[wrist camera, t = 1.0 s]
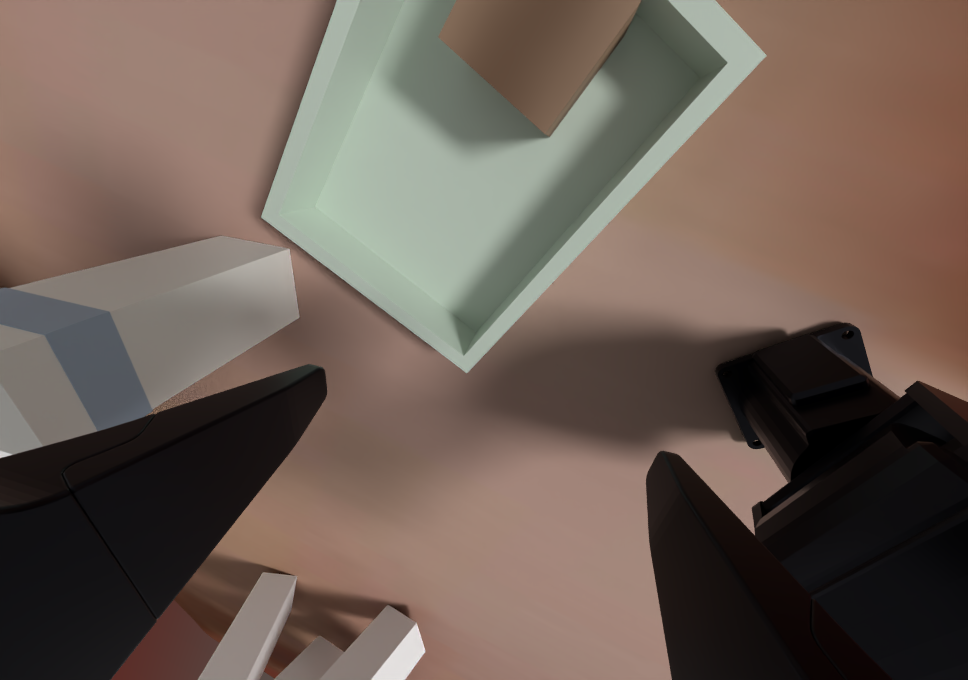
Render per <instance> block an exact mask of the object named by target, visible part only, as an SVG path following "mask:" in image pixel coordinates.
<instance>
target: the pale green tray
mask: <svg viewBox="0 0 968 680" xmlns="http://www.w3.org/2000/svg"><path fill="white" fill-rule="evenodd" d="M455 2H456V0H337V2H336V5H335V8H334V10H333V13H332V16H331V19H330V22H329V25H328V28H327V30H326V33H325V36H324V39H323V42H322V45H321V47H320V50H319V53H318V56H317V59H316V62H315V65H314V67H313V70H312V73H311V76H310V79H309V82H308V85H307V87H306V90H305V93H304V96H303V99H302V102H301V104H300V107H299V110H298V113H297V116H296V119H295V122H294V124H293V127H292V130H291V133H290V136H289V139H288V142H287V144H286V147H285V150H284V153H283V156H282V159H281V161H280V164H279V167H278V170H277V173H276V176H275V179H274V181H273V184H272V187H271V190H270V193H269V196H268V199H267V201H266V204H265V207H264V210H263V213H262V216H261V218H263V219H264V220H265V221H267V222H268V223H269V224H271V225H272V226H273V227H274V228H276V229H277V230H278V231H280V232H281V233H282V234H284V235H285V236H286V237H288V238H289V239H290V240H292V241H293V242H294V243H296V244H297V245H298V246H300V247H301V248H302V249H304V250H305V251H306V252H308V253H309V254H310V255H311V256H313V257H314V258H315V259H317V260H318V261H319V262H321V263H322V264H323V265H325V266H326V267H327V268H329V269H330V270H331V271H333V272H334V273H335V274H337V275H338V276H339V277H341V278H342V279H343V280H344V281H346V282H347V283H348V284H350V285H351V286H352V287H354V288H355V289H356V290H358V291H359V292H360V293H362V294H363V295H364V296H366V297H367V298H368V299H370V300H371V301H372V302H374V303H375V304H376V305H377V306H379V307H380V308H381V309H383V310H384V311H385V312H387V313H388V314H389V315H391V316H392V317H393V318H395V319H396V320H397V321H399V322H400V323H401V324H403V325H404V326H405V327H407V328H408V329H409V330H410V331H412V332H413V333H414V334H416V335H417V336H418V337H420V338H421V339H422V340H424V341H425V342H426V343H428V344H429V345H430V346H432V347H433V348H434V349H436V350H437V351H438V352H440V353H441V354H442V355H443V356H445V357H446V358H447V359H449V360H450V361H451V362H453V363H454V364H455V365H457V366H458V367H459V368H461V369H462V370H463V371H465V372H466V373H468V372H469V371H470V370H471V369H472V367H473V366H474V365H475V364H476V363H477V362H478V361H479V360H480V359H481V358H482V357H483V356H484V355H485V354H486V353H487V352H488V350H489V349H490V348H491V347H492V346H493V345H494V344H495V343H496V342H497V341H498V340H499V339H500V338H501V337H502V336H503V335H504V334H505V332H506V331H507V330H508V329H509V328H510V327H511V326H512V325H513V324H514V323H515V322H516V321H517V320H518V319H519V318H520V317H521V315H522V314H523V313H524V312H525V311H526V310H527V309H528V308H529V307H530V306H531V305H532V304H533V303H534V302H535V301H536V300H537V299H538V297H539V296H540V295H541V294H542V293H543V292H544V291H545V290H546V289H547V288H548V287H549V286H550V285H551V284H552V283H553V282H554V280H555V279H556V278H557V277H558V276H559V275H560V274H561V273H562V272H563V271H564V270H565V269H566V268H567V267H568V266H569V265H570V264H571V262H572V261H573V260H574V259H575V258H576V257H577V256H578V255H579V254H580V253H581V252H582V251H583V250H584V249H585V248H586V247H587V245H588V244H589V243H590V242H591V241H592V240H593V239H594V238H595V237H596V236H597V235H598V234H599V233H600V232H601V231H602V230H603V229H604V227H605V226H606V225H607V224H608V223H609V222H610V221H611V220H612V219H613V218H614V217H615V216H616V215H617V214H618V213H619V212H620V210H621V209H622V208H623V207H624V206H625V205H626V204H627V203H628V202H629V201H630V200H631V199H632V198H633V197H634V196H635V195H636V194H637V192H638V191H639V190H640V189H641V188H642V187H643V186H644V185H645V184H646V183H647V182H648V181H649V180H650V179H651V178H652V177H653V175H654V174H655V173H656V172H657V171H658V170H659V169H660V168H661V167H662V166H663V165H664V164H665V163H666V162H667V161H668V160H669V159H670V157H671V156H672V155H673V154H674V153H675V152H676V151H677V150H678V149H679V148H680V147H681V146H682V145H683V144H684V143H685V142H686V140H687V139H688V138H689V137H690V136H691V135H692V134H693V133H694V132H695V131H696V130H697V129H698V128H699V127H700V126H701V125H702V123H703V122H704V121H705V120H706V119H707V118H708V117H709V116H710V115H711V114H712V113H713V112H714V111H715V110H716V109H717V108H718V107H719V105H720V104H721V103H722V102H723V101H724V100H725V99H726V98H727V97H728V96H729V95H730V94H731V93H732V92H733V91H734V90H735V88H736V87H737V86H738V85H739V84H740V83H741V82H742V81H743V80H744V79H745V78H746V77H747V76H748V75H749V74H750V73H751V72H752V70H753V69H754V68H755V67H756V66H757V65H758V64H759V63H760V62H761V61H762V60H763V59H764V58H765V57H766V56H767V55H766V54H765V53H764V52H763V51H762V50H761V49H760V48H759V47H758V46H757V45H756V44H755V42H754V41H753V40H752V39H751V38H750V37H749V36H748V35H747V34H746V33H745V32H744V31H743V30H742V29H741V27H740V26H739V25H738V24H737V23H736V22H735V21H734V20H733V19H732V18H731V17H730V16H729V15H728V14H727V13H726V11H725V10H724V9H723V8H722V7H721V6H720V5H719V4H718V3H717V2H716V1H715V0H641V3H640V5H639V7H638V9H637V11H636V13H635V15H634V17H633V19H632V21H631V23H630V25H629V28H628V30H627V32H626V34H625V36H624V37H623V39H622V40H621V41H620V43H619V44H618V45H617V47H616V48H615V50H614V51H613V52H612V54H611V55H610V56H609V58H608V59H607V60H606V62H605V63H604V64H603V66H602V67H601V69H600V70H599V71H598V73H597V74H596V75H595V77H594V78H593V79H592V81H591V82H590V83H589V85H588V86H587V88H586V89H585V90H584V92H583V93H582V94H581V96H580V97H579V98H578V100H577V101H576V102H575V104H574V105H573V107H572V108H571V109H570V111H569V112H568V113H567V115H566V116H565V117H564V119H563V120H562V121H561V123H560V124H559V126H558V127H557V128H556V130H555V131H554V132H553V134H552V135H551V136H550V137H549V136H547V135H545V134H544V133H543V132H542V131H541V130H540V129H539V128H537V127H536V126H535V125H534V124H533V123H532V122H531V121H530V120H529V119H528V118H526V117H525V116H524V115H523V114H522V113H521V112H520V111H519V110H518V109H517V108H515V107H514V106H513V105H512V104H511V103H510V102H509V101H508V100H507V99H506V98H504V97H503V96H502V95H501V94H500V93H499V92H498V91H497V90H496V89H495V88H493V87H492V86H491V85H490V84H489V83H488V82H487V81H486V80H485V79H484V78H482V77H481V76H480V75H479V74H478V73H477V72H476V71H475V70H474V69H473V68H471V67H470V66H469V65H468V64H467V63H466V62H465V61H464V60H463V59H461V58H460V57H459V56H458V55H457V54H456V53H455V52H454V51H453V50H452V49H450V48H449V47H448V46H447V45H446V44H445V43H444V42H443V41H442V40H441V39H439V38H438V36H439V34H440V32H441V30H442V28H443V26H444V24H445V22H446V20H447V18H448V16H449V14H450V12H451V10H452V8H453V6H454V4H455Z"/></svg>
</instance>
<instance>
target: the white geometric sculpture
mask: <svg viewBox="0 0 968 680" xmlns="http://www.w3.org/2000/svg"><path fill="white" fill-rule="evenodd" d="M296 580H297V576H292V575H283V574H274V573H266V572H263V573H262V574H261V576H260V578H259V579H258V581H257V583H256V584H255V586H254V588H253V589H252V591H251V593H250V594H249V596H248V597H247V599H246V601H245V602H244V604H243V606H242V607H241V609H240V611H239V612H238V614H237V616H236V617H235V619H234V621H233V622H232V624H231V626H230V627H229V629H228V631H227V632H226V634H225V636H224V637H223V639H222V641H221V642H220V644H219V645H218V647H217V649H216V650H215V652H214V654H213V655H212V657H211V659H210V660H209V662H208V664H207V665H206V667H205V669H204V670H203V672H202V674H201V675H200V677H199V679H198V680H260V678H261V675H262V673H263V671H264V669H265V667H266V665H267V662H268V660H269V658H270V656H271V654H272V651H273V649H274V647H275V645H276V643H277V640H278V638H279V636H280V634H281V632H282V629H283V627H284V625H285V623H286V621H287V618H288V616H289V614H290V612H291V609H292V603H293V597H294V591H295V586H296ZM424 653H425V648H424V645H423V642H422V639H421V635H420V632H419V629H418V626H417V623H416V622H414V621H413V620H411V619H410V618H408V617H407V616H405V615H404V614H402V613H400V612H399V611H397V610H396V609H394V608H393V607H391V606H389V605H387V606H386V607H385V608H384V609H383V610H382V611H381V613H380V614H379V615H378V616H377V617H376V618H375V619H374V620H373V621H372V622H371V623H370V625H369V626H368V627H367V628H366V629H365V630H364V631H363V632H362V633H361V634H360V636H359V637H358V638H357V639H356V640H355V641H354V642H353V643H352V644H351V645H350V647H349V648H348V649H347V650H346V651H345V652H344V651H342V650H341V649H339V648H338V647H336V646H335V645H333V644H332V643H330V642H329V641H327V640H326V639H324V638H323V637H322V636H320V635H319V636H318V637H317V638H316V639H315V640H314V641H313V642H312V643H311V644H310V645H309V646H308V647H307V648H306V649H305V650H303V651H302V652H301V653H300V654H299V655H298V656H297V657H296V658H295V659H294V660H293V661H292V662H291V663H290V664H289V665H288V666H287V667H286V668H285V669H284V670H283V671H282V672H281V673H280V674H279V675H278V676H277V677H276V678H275V679H274V680H405V679H406V677H407V676H408V675H409V673H410V672H411V671H412V669H413V668H414V666H415V665H416V664H417V662H418V661H419V660H420V658H421V657H422V656H423V654H424Z"/></svg>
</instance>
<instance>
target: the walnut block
mask: <svg viewBox="0 0 968 680" xmlns="http://www.w3.org/2000/svg"><path fill="white" fill-rule="evenodd" d="M640 3H641V0H456V2H455V4H454V6H453V8H452V10H451V12H450V14H449V16H448V18H447V20H446V22H445V24H444V26H443V28H442V30H441V32H440V34H439V36H438V38H439V39H441V40H442V41H443V42H444V43H445V44H446V45H447V46H448V47H449V48H450V49H452V50H453V51H454V52H455V53H456V54H457V55H458V56H459V57H460V58H461V59H463V60H464V61H465V62H466V63H467V64H468V65H469V66H470V67H471V68H473V69H474V70H475V71H476V72H477V73H478V74H479V75H480V76H481V77H482V78H484V79H485V80H486V81H487V82H488V83H489V84H490V85H491V86H492V87H493V88H495V89H496V90H497V91H498V92H499V93H500V94H501V95H502V96H503V97H504V98H506V99H507V100H508V101H509V102H510V103H511V104H512V105H513V106H514V107H515V108H517V109H518V110H519V111H520V112H521V113H522V114H523V115H524V116H525V117H526V118H528V119H529V120H530V121H531V122H532V123H533V124H534V125H535V126H536V127H537V128H539V129H540V130H541V131H542V132H543V133H544V134H545V135H547V136H549V137H550V136H551V135H552V134H553V132H554V131H555V130H556V128H557V127H558V126H559V124H560V123H561V121H562V120H563V119H564V117H565V116H566V115H567V113H568V112H569V111H570V109H571V108H572V107H573V105H574V104H575V102H576V101H577V100H578V98H579V97H580V96H581V94H582V93H583V92H584V90H585V89H586V88H587V86H588V85H589V83H590V82H591V81H592V79H593V78H594V77H595V75H596V74H597V73H598V71H599V70H600V69H601V67H602V66H603V64H604V63H605V62H606V60H607V59H608V58H609V56H610V55H611V54H612V52H613V51H614V50H615V48H616V47H617V45H618V44H619V43H620V41H621V40H622V39H623V37H624V36H625V34H626V32H627V30H628V28H629V25H630V23H631V21H632V19H633V17H634V15H635V13H636V11H637V9H638V7H639V5H640Z"/></svg>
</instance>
